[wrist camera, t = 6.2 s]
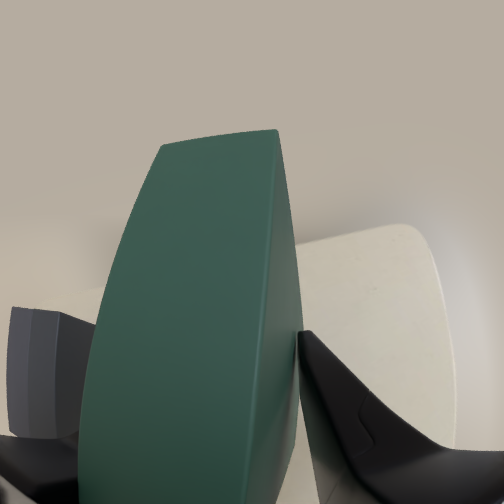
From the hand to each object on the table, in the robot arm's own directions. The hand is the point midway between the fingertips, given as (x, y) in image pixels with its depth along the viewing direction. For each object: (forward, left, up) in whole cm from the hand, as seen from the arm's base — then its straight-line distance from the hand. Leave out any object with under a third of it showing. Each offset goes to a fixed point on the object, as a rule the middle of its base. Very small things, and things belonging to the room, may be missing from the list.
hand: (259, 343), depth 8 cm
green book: (-2, 0, -7) cm, 7 cm away
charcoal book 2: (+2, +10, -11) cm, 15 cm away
